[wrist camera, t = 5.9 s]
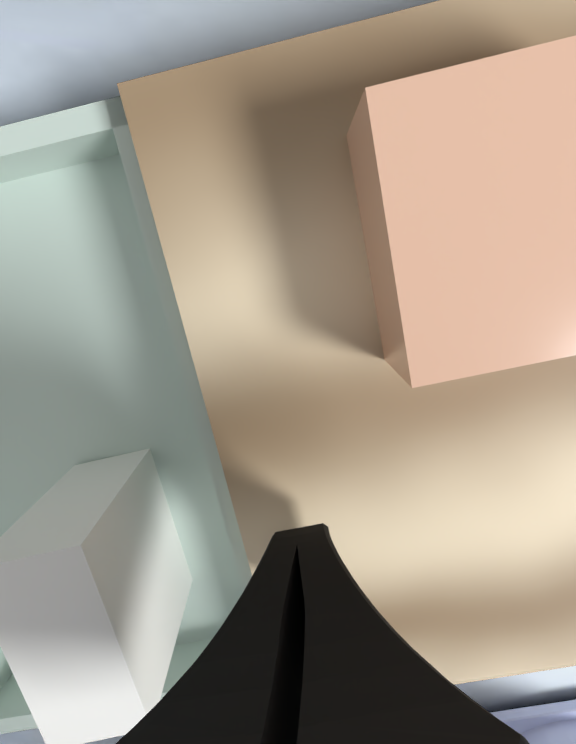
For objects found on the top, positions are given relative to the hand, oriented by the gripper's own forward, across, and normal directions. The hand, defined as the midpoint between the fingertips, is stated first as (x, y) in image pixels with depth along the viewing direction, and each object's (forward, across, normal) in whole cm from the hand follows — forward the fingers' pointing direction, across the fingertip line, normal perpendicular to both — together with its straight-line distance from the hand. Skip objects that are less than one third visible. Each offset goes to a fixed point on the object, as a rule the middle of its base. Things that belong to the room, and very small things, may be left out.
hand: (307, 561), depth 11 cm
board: (+4, -4, -3) cm, 6 cm away
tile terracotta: (+1, -5, -7) cm, 9 cm away
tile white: (+1, +4, 0) cm, 4 cm away
